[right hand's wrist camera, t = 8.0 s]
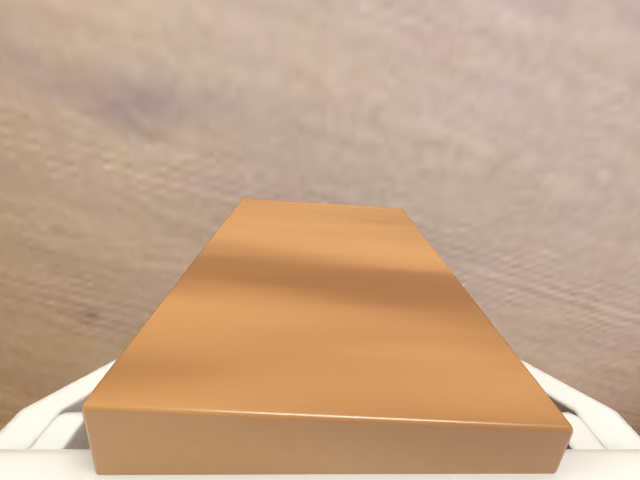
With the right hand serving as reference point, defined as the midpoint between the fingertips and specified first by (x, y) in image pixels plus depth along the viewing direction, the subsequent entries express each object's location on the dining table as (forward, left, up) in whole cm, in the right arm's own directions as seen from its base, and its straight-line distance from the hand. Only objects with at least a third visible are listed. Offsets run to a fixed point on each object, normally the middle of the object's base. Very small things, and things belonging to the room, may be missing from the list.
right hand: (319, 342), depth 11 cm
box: (+3, +11, -5) cm, 12 cm away
